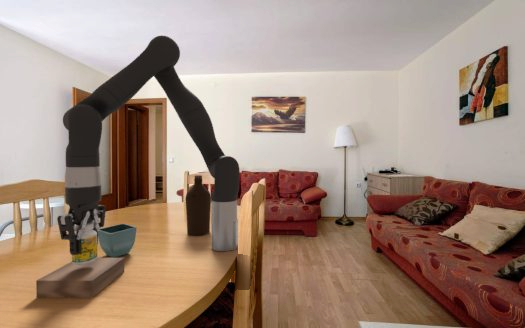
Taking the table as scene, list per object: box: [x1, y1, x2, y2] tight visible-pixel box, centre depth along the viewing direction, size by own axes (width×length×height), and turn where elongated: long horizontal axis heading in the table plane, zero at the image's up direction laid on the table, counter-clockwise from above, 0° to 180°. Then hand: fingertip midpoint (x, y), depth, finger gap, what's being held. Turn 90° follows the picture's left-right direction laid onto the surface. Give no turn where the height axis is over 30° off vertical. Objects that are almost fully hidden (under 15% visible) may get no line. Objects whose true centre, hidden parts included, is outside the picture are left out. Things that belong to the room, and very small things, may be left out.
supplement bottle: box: [71, 222, 99, 265], centre depth 63 cm, size 5×5×10 cm
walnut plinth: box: [35, 257, 125, 299], centre depth 63 cm, size 13×13×4 cm
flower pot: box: [98, 223, 137, 258], centre depth 82 cm, size 9×9×9 cm
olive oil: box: [185, 174, 212, 237], centre depth 105 cm, size 11×11×25 cm
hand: (85, 249), depth 63 cm, fingers closed on supplement bottle, 5 cm apart
